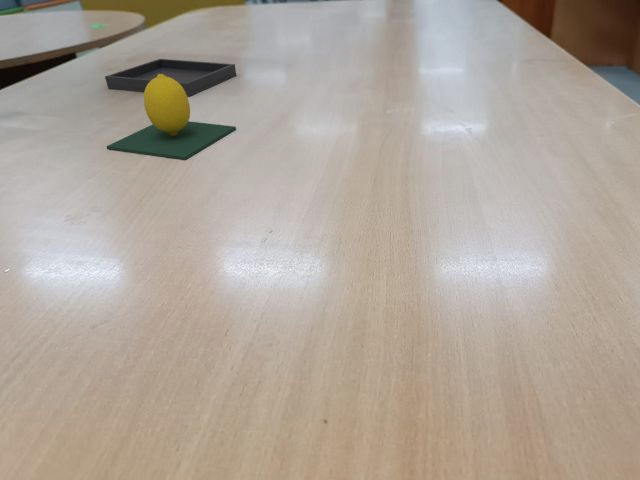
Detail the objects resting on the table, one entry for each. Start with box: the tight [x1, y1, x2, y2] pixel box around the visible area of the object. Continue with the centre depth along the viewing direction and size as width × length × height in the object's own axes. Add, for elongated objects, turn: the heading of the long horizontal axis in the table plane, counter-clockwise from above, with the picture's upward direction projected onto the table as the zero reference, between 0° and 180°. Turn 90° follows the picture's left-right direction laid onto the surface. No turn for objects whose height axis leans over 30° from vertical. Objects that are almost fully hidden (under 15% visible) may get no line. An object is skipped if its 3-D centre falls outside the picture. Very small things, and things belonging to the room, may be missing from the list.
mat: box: [106, 120, 237, 161], centre depth 69 cm, size 12×12×1 cm
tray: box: [104, 58, 237, 97], centre depth 94 cm, size 17×15×2 cm
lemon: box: [143, 74, 191, 136], centre depth 67 cm, size 6×6×8 cm
